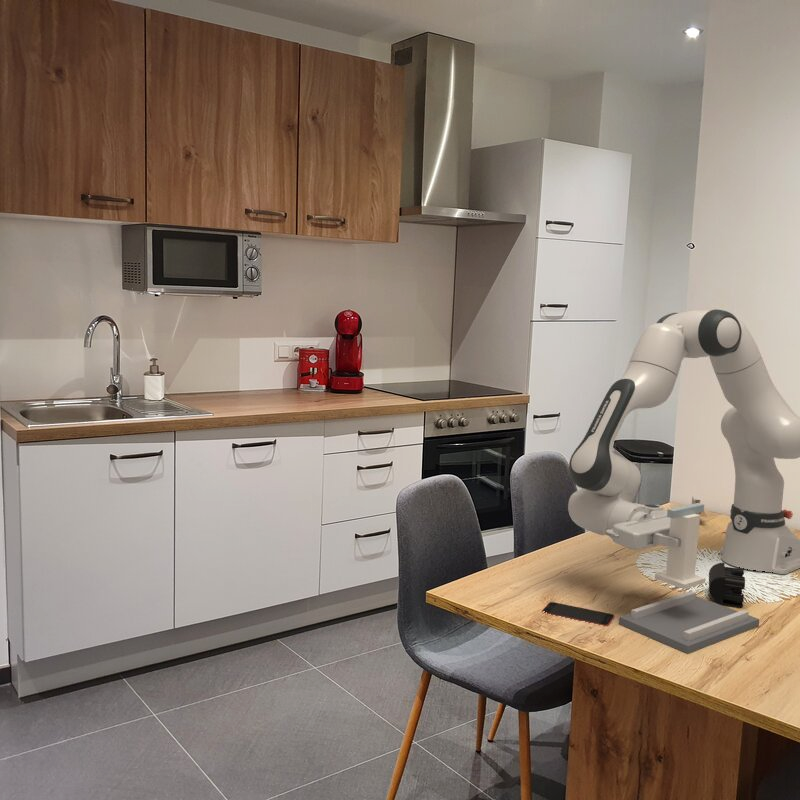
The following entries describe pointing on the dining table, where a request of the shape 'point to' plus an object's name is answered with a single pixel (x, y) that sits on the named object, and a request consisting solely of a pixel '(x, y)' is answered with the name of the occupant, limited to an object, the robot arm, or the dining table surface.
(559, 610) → the smartphone
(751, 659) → the dining table surface
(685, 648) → the plate
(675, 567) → the stand
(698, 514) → the architectural model
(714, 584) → the black rounded block
